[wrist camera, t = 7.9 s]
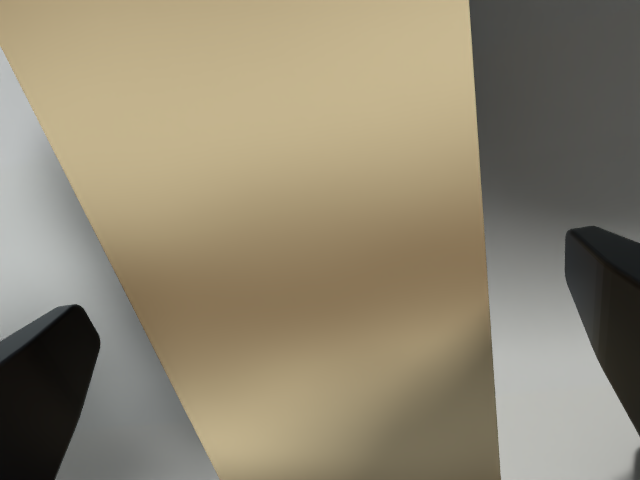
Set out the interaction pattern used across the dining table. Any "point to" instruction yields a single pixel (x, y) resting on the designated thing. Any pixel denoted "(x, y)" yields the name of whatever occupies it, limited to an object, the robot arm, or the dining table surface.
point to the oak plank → (286, 218)
